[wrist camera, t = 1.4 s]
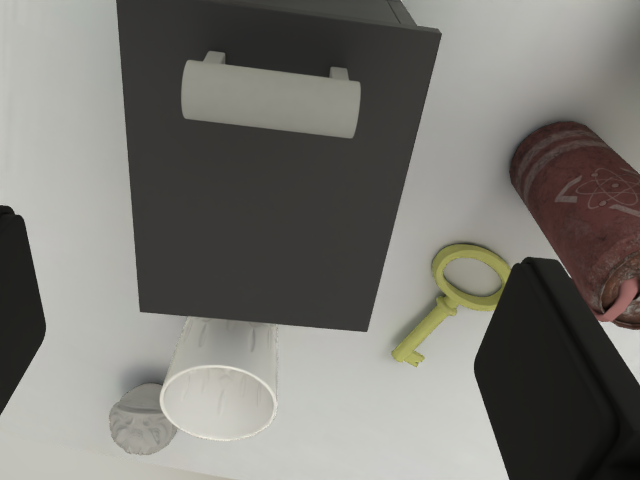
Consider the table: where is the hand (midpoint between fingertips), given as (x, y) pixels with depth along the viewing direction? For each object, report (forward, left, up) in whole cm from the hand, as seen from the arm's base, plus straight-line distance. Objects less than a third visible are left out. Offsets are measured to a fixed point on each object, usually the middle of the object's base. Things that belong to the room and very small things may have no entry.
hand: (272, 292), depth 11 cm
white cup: (+23, -3, -26) cm, 35 cm away
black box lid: (+6, -1, -15) cm, 16 cm away
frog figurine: (+34, -10, -26) cm, 44 cm away
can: (+7, +18, -26) cm, 32 cm away
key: (+20, +14, -26) cm, 36 cm away
